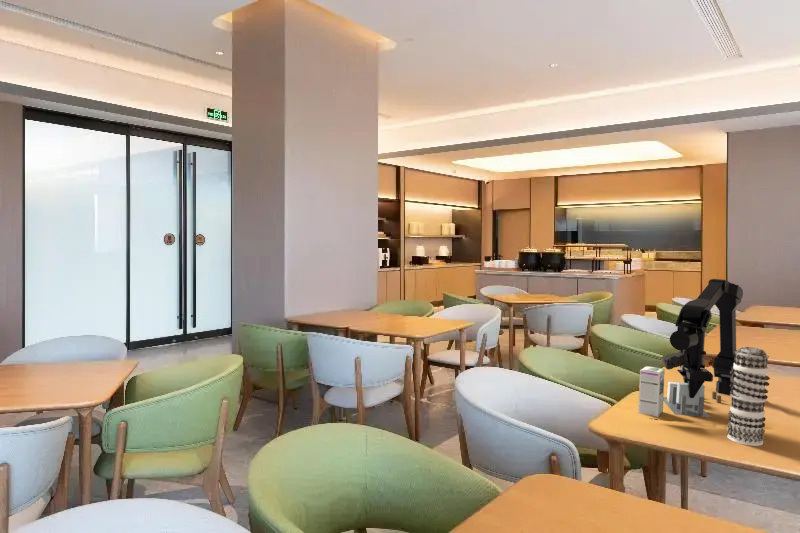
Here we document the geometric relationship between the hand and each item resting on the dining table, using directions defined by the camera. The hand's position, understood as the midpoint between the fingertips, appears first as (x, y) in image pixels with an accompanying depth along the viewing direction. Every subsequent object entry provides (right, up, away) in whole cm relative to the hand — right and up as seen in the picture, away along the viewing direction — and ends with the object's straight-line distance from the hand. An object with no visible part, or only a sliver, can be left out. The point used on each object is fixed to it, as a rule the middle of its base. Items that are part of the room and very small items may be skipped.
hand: (690, 396), depth 173 cm
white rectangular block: (+2, -4, +10) cm, 11 cm away
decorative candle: (+5, -8, -19) cm, 21 cm away
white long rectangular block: (0, -2, 0) cm, 2 cm away
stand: (+12, -5, +13) cm, 19 cm away
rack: (+1, -6, +5) cm, 8 cm away
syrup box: (-13, -6, -1) cm, 14 cm away
